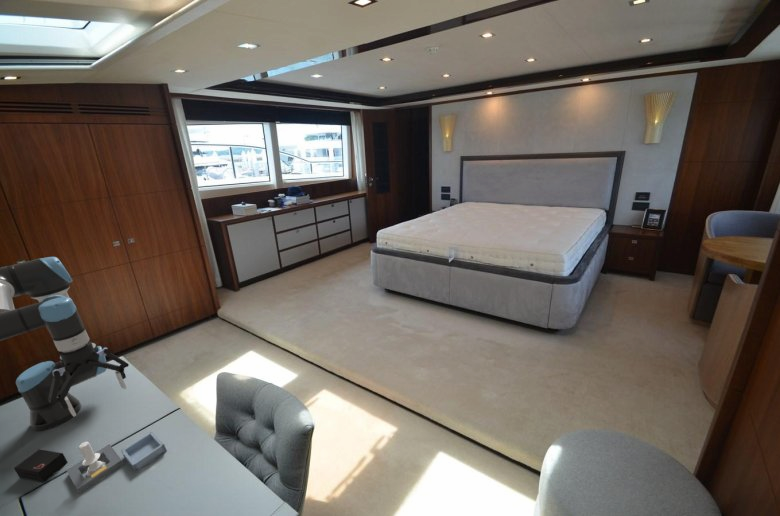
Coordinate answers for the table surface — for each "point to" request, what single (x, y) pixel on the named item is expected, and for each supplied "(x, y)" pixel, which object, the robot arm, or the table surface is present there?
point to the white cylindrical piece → (90, 458)
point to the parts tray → (143, 451)
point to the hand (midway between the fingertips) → (100, 400)
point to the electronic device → (41, 465)
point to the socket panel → (99, 474)
